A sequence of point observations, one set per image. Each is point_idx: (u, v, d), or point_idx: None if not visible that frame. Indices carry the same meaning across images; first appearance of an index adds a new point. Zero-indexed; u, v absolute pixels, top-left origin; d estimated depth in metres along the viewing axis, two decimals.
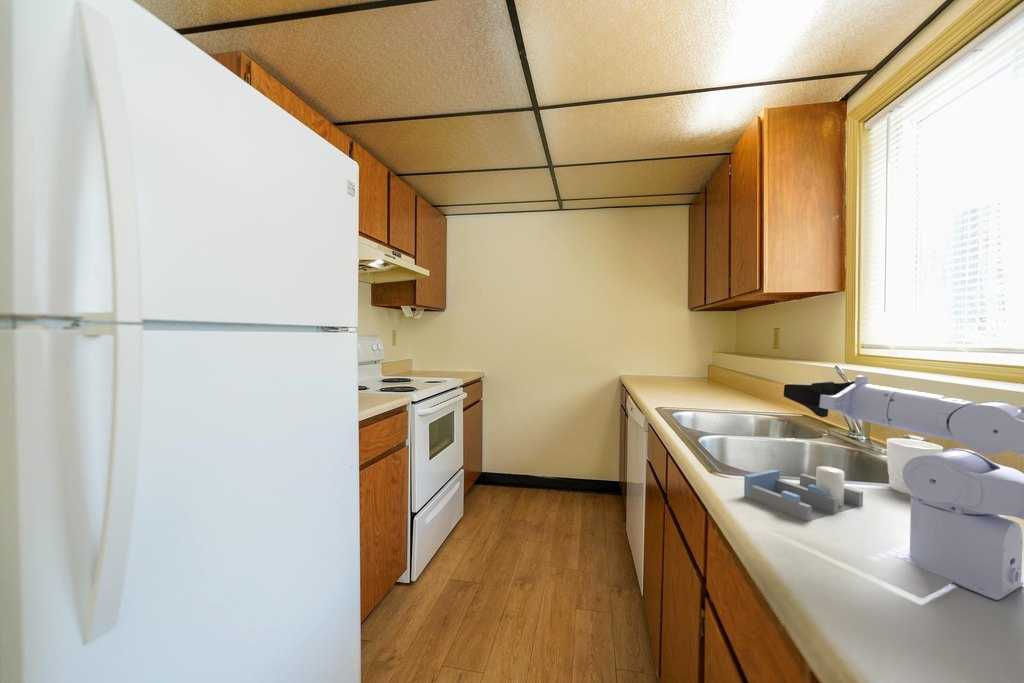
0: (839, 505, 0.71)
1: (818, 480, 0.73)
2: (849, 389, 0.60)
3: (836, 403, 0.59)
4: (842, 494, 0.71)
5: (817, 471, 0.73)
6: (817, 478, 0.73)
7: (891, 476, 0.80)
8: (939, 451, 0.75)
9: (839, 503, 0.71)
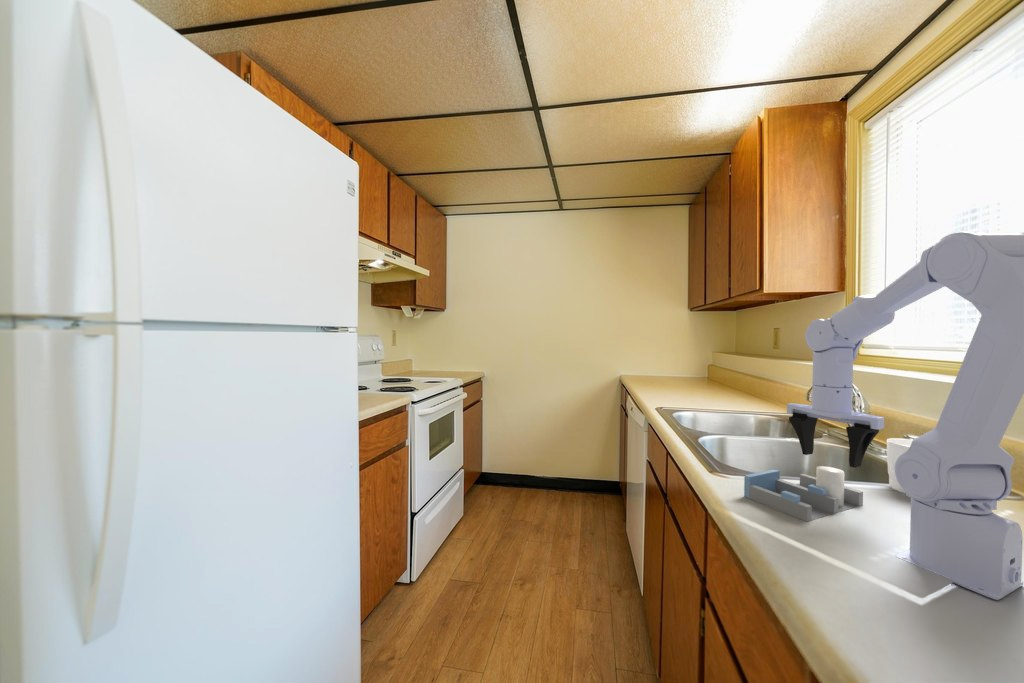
0: (839, 505, 0.71)
1: (818, 480, 0.73)
2: None
3: (792, 403, 0.79)
4: (842, 494, 0.71)
5: (817, 471, 0.73)
6: (817, 478, 0.73)
7: (891, 476, 0.80)
8: None
9: (839, 503, 0.71)
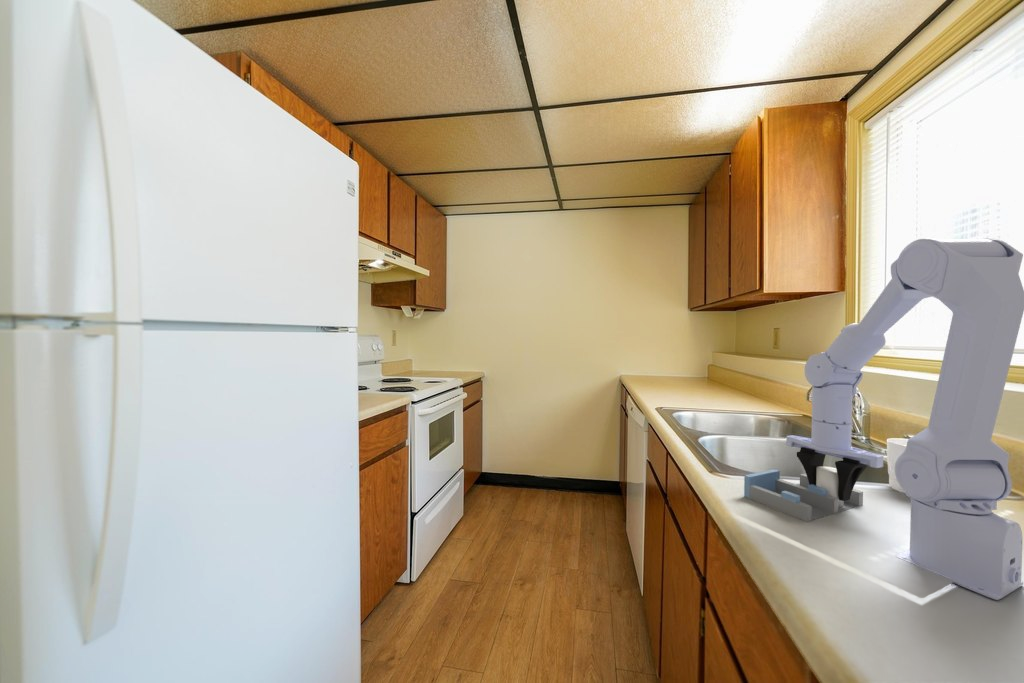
0: (839, 505, 0.71)
1: (818, 480, 0.73)
2: None
3: (792, 436, 0.79)
4: None
5: (817, 471, 0.73)
6: (817, 478, 0.73)
7: (891, 476, 0.80)
8: None
9: (839, 503, 0.71)
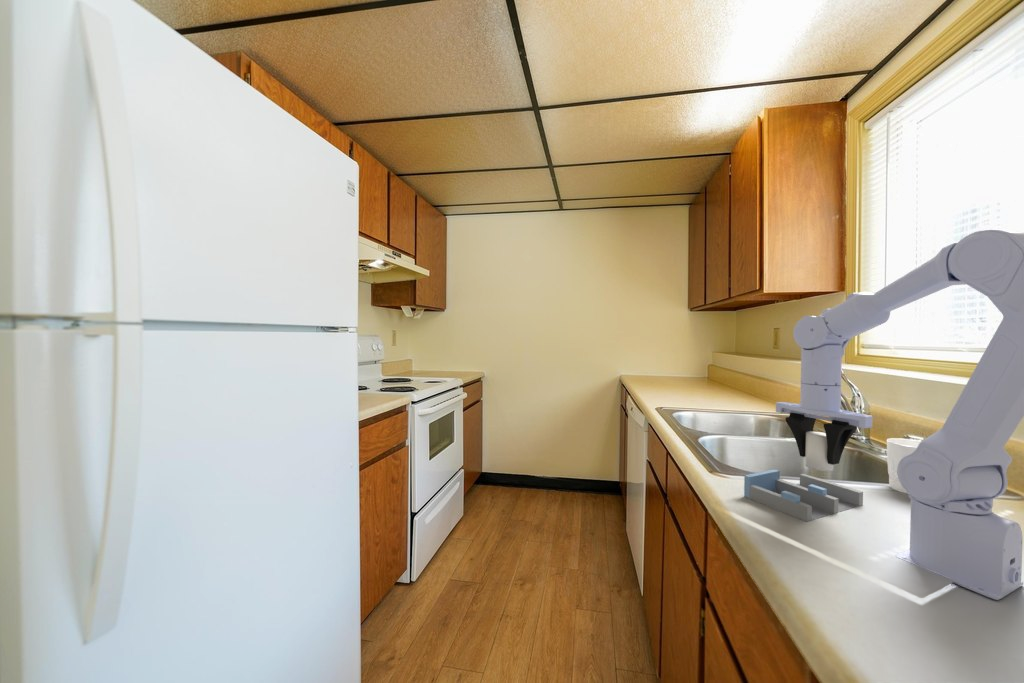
0: (828, 469, 0.69)
1: (807, 444, 0.71)
2: None
3: (781, 402, 0.77)
4: None
5: (806, 435, 0.72)
6: (806, 443, 0.71)
7: (891, 476, 0.80)
8: None
9: (828, 467, 0.69)
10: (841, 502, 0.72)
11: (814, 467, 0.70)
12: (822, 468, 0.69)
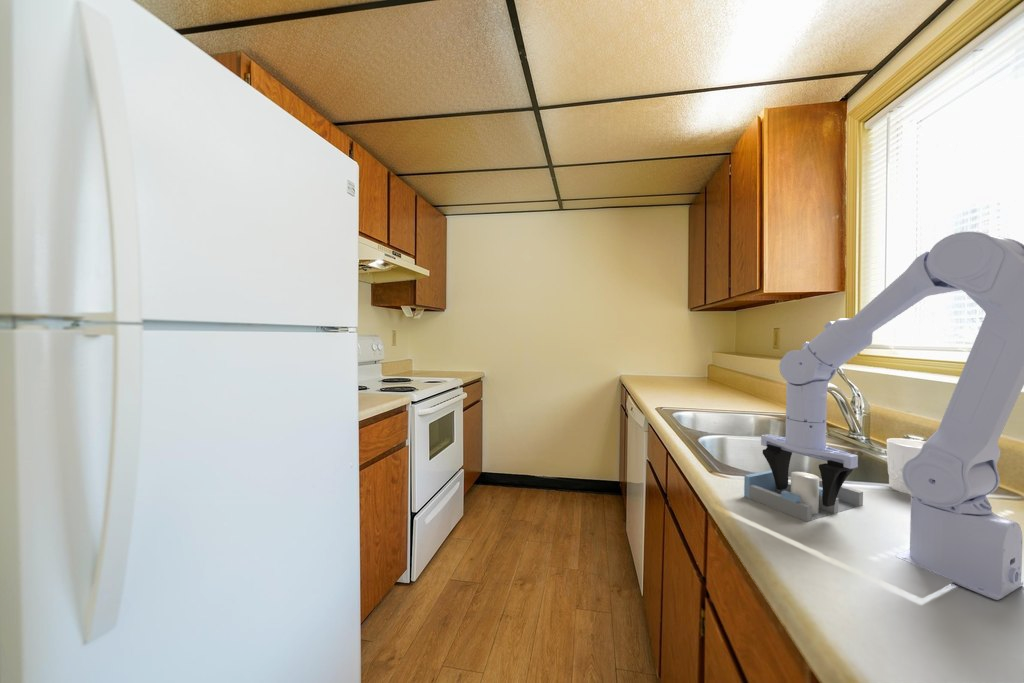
0: (813, 512, 0.68)
1: (792, 486, 0.70)
2: None
3: (767, 435, 0.76)
4: (817, 501, 0.68)
5: (791, 477, 0.70)
6: (791, 484, 0.70)
7: (891, 476, 0.80)
8: None
9: (813, 510, 0.68)
10: (841, 502, 0.72)
11: None
12: None
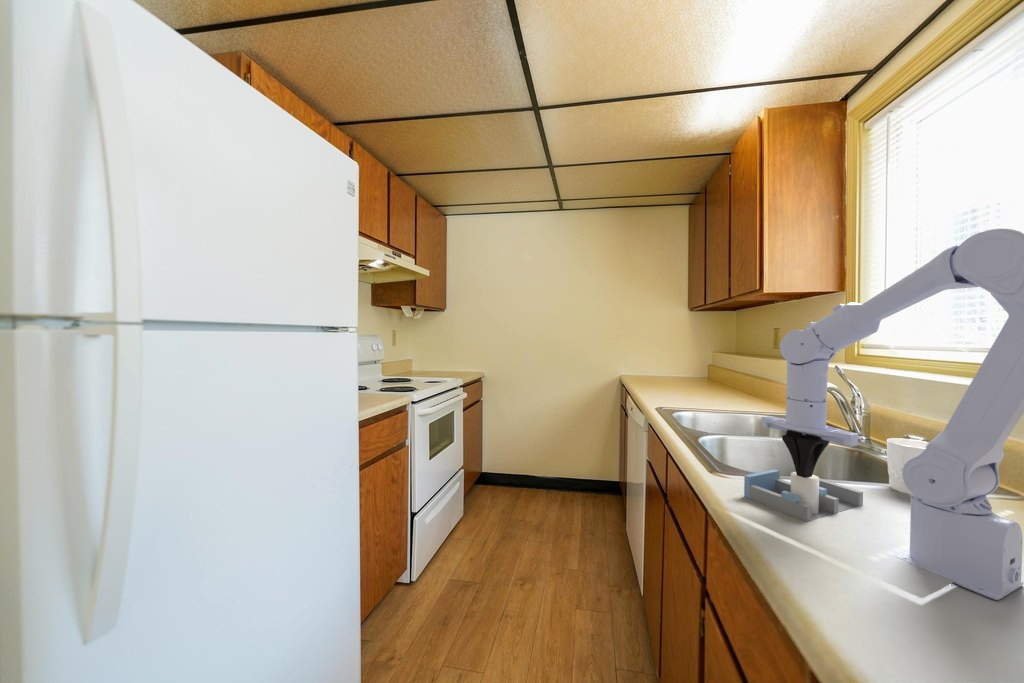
0: (813, 513, 0.68)
1: (792, 486, 0.70)
2: None
3: (767, 416, 0.76)
4: (816, 501, 0.68)
5: (791, 477, 0.70)
6: (791, 484, 0.70)
7: (891, 476, 0.80)
8: None
9: (813, 511, 0.68)
10: (841, 502, 0.72)
11: None
12: None
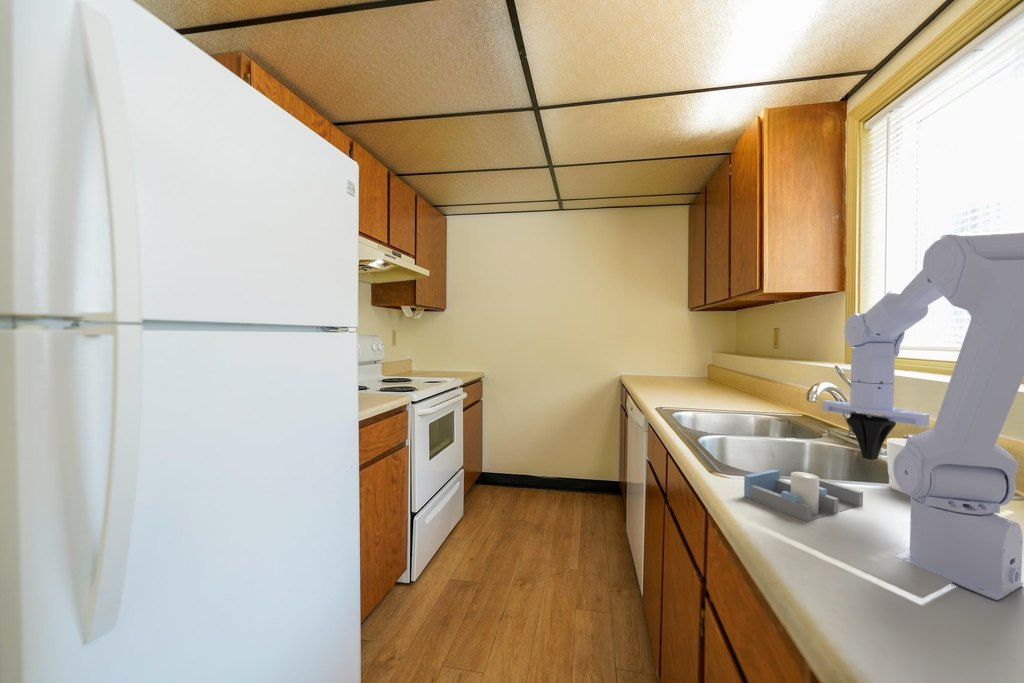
0: (813, 512, 0.68)
1: (792, 486, 0.70)
2: None
3: (828, 400, 0.77)
4: (816, 501, 0.68)
5: (791, 477, 0.70)
6: (791, 484, 0.70)
7: (891, 476, 0.80)
8: None
9: (813, 510, 0.68)
10: (841, 502, 0.72)
11: None
12: None
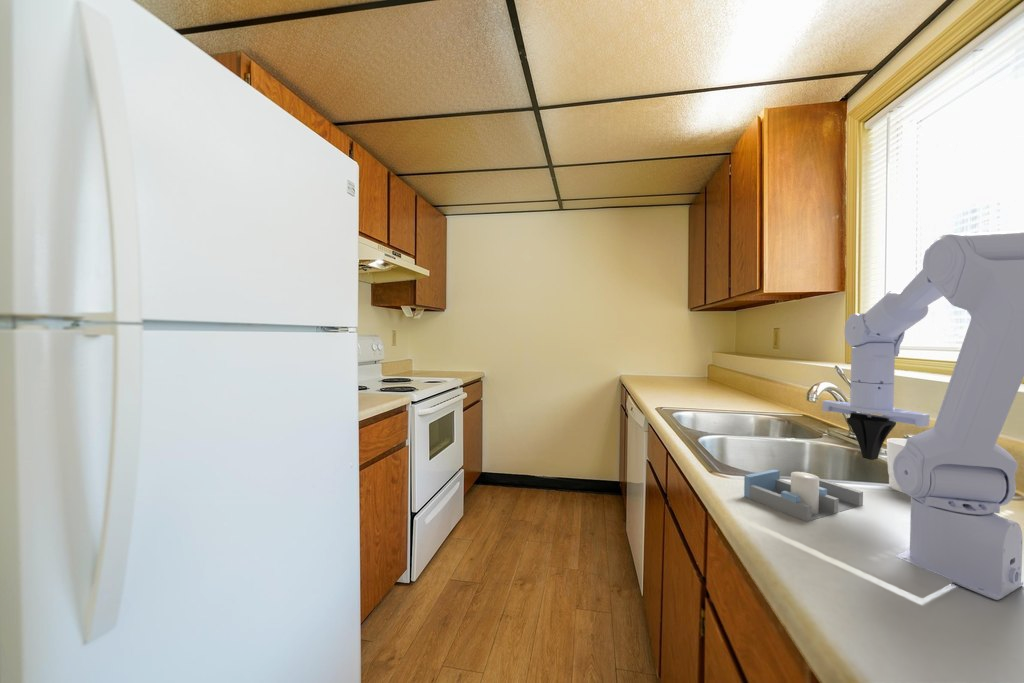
0: (813, 512, 0.68)
1: (792, 486, 0.70)
2: None
3: (828, 400, 0.77)
4: (817, 501, 0.68)
5: (791, 477, 0.70)
6: (791, 484, 0.70)
7: (891, 476, 0.80)
8: None
9: (813, 510, 0.68)
10: (841, 502, 0.72)
11: None
12: None
